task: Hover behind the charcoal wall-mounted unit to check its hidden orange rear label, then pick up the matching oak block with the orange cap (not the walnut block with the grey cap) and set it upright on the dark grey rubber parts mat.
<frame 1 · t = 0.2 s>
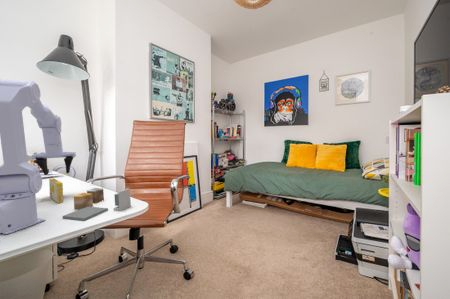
hand: (57, 173, 89), 10 cm above the table, tool pointing down, fingers open, 7 cm apart
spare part: (83, 207, 75), on the table
parts mat: (86, 214, 68), on the table
candy box: (56, 199, 86), on the table
wall unit: (122, 208, 74), on the table
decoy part: (95, 201, 82), on the table
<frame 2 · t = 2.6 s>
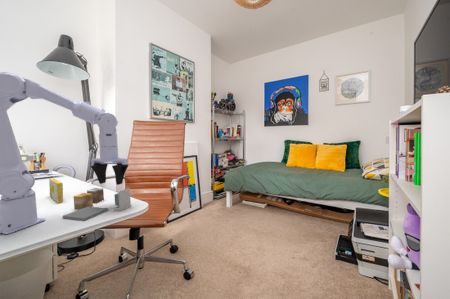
hand: (110, 183, 74), 9 cm above the table, tool pointing down, fingers open, 7 cm apart
nothing on the table moved.
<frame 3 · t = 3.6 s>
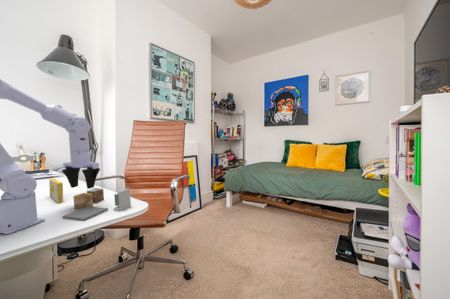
hand: (82, 187, 74), 8 cm above the table, tool pointing down, fingers open, 7 cm apart
nothing on the table moved.
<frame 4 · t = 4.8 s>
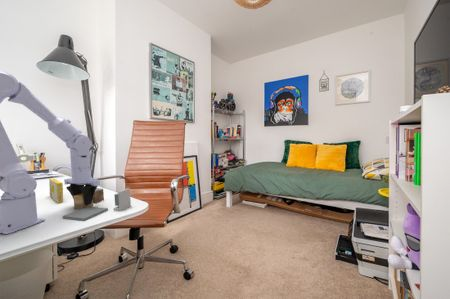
hand: (83, 203, 75), 1 cm above the table, tool pointing down, fingers closed on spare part, 4 cm apart
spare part: (83, 207, 75), on the table, touching gripper
everything else where it was.
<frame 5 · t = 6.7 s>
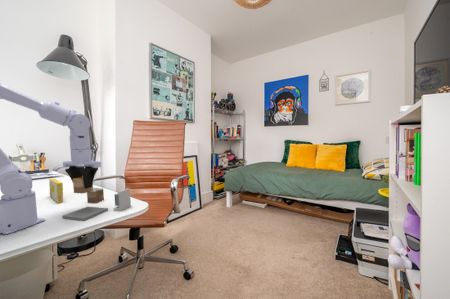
hand: (83, 187, 71), 8 cm above the table, tool pointing down, fingers closed on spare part, 4 cm apart
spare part: (83, 191, 71), point 7 cm above the table, touching gripper
everything else where it was.
when the fingers open (3 cm above the table, at t = 8.8 s): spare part stays where it is, resting on parts mat.
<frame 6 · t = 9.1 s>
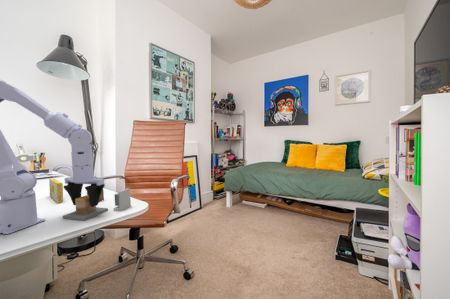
hand: (85, 205, 68), 3 cm above the table, tool pointing down, fingers open, 7 cm apart
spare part: (86, 211, 68), point 1 cm above the table, touching parts mat
everything else where it was.
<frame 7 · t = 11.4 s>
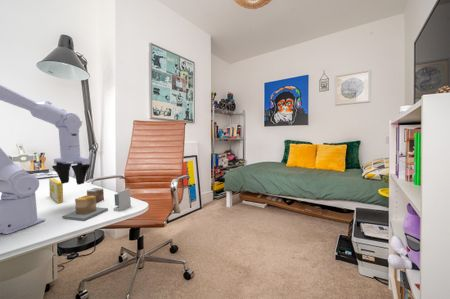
hand: (72, 183, 74), 9 cm above the table, tool pointing down, fingers open, 7 cm apart
nothing on the table moved.
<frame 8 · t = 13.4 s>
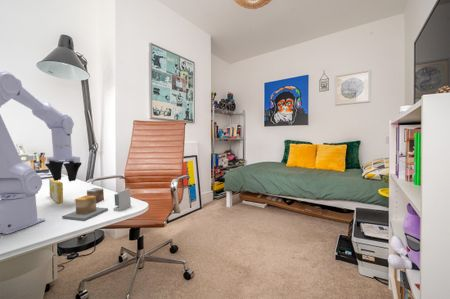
hand: (64, 180, 79), 9 cm above the table, tool pointing down, fingers open, 7 cm apart
nothing on the table moved.
at the end: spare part 0.1 cm off-centre on the parts mat, point 0.8 cm above the parts mat's base; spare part tilted 0°; the gripper is holding nothing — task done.
